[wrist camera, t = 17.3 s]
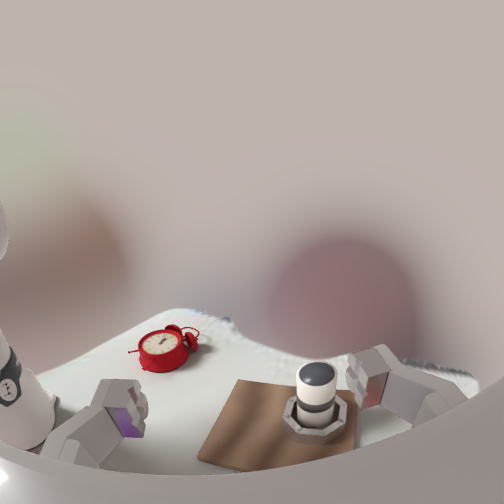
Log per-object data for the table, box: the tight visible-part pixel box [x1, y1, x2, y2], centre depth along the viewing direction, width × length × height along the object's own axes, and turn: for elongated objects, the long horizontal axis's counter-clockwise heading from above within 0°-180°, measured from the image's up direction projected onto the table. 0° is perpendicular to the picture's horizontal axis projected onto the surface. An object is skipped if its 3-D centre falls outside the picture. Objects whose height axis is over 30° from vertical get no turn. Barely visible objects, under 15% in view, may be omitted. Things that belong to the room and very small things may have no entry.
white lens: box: [296, 361, 337, 430], centre depth 34 cm, size 5×5×10 cm
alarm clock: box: [128, 324, 199, 372], centre depth 55 cm, size 10×6×15 cm
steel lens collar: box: [282, 395, 347, 445], centre depth 35 cm, size 9×9×2 cm
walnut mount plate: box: [197, 379, 357, 472], centre depth 35 cm, size 20×17×1 cm
